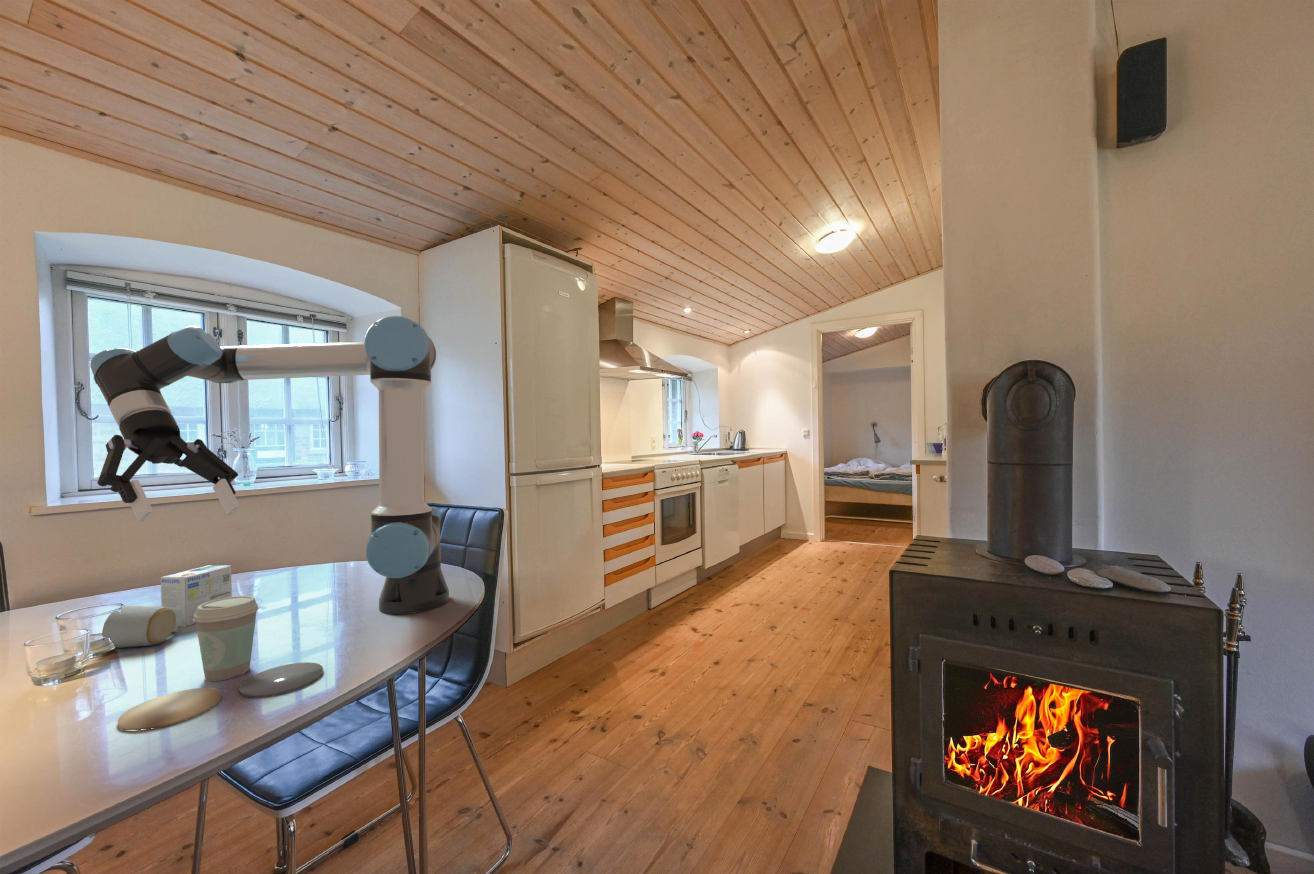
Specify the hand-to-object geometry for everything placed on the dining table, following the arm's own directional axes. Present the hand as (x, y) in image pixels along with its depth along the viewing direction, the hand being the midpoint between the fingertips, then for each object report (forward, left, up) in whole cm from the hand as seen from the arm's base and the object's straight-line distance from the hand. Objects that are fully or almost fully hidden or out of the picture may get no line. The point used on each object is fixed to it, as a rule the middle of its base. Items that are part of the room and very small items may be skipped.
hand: (192, 513), depth 91 cm
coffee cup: (-5, +8, -27) cm, 28 cm away
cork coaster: (0, +19, -27) cm, 33 cm away
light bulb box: (+5, -33, -27) cm, 43 cm away
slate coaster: (-13, +17, -27) cm, 34 cm away
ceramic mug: (+11, -21, -27) cm, 36 cm away
